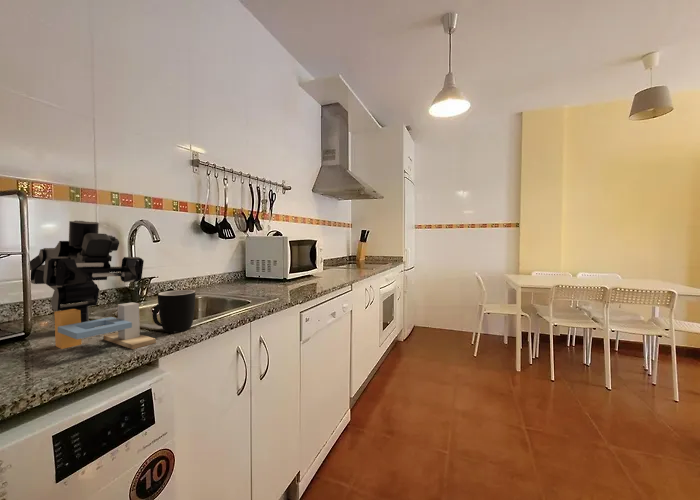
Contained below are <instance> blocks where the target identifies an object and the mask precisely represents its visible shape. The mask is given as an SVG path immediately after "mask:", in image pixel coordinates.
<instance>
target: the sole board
mask: <svg viewBox="0 0 700 500" xmlns="http://www.w3.org/2000/svg"><path fill="white" fill-rule="evenodd" d="M103 340H104V341H106V342H107V341H108V342H111V343H113V344H116V345H119V346H122V347H124V348H128V349H131V350H135V349H139V348H143V347H147V346H149V345H153V344H156V343H157V339H156V338H155V337H152V336H148V335H144V334H140V336H139V337H135V338H131V339H127V340H124V339H121V338H118V331H115V332H111V333H106V334H103Z"/></svg>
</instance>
